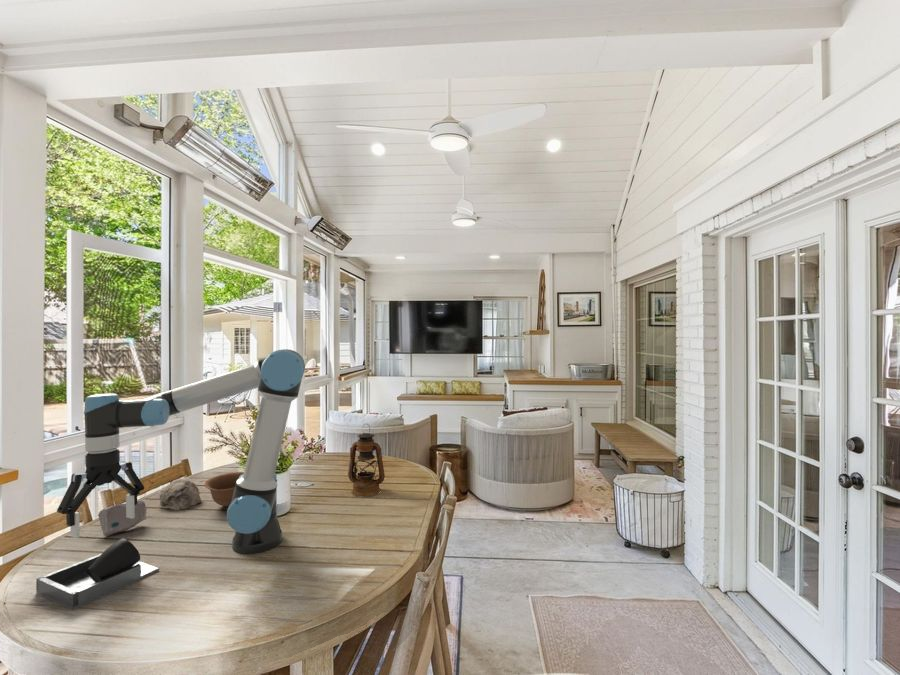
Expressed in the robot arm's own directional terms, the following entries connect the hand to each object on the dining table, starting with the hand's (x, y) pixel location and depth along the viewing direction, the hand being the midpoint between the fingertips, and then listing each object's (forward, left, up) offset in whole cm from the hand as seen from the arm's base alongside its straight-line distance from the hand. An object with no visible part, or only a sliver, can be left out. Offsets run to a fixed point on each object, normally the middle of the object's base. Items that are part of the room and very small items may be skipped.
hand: (104, 526), depth 124 cm
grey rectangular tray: (0, +1, -15) cm, 15 cm away
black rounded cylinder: (-2, +4, -12) cm, 13 cm away
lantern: (-23, -91, -15) cm, 95 cm away
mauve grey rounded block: (+30, -22, -15) cm, 40 cm away
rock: (+36, -46, -16) cm, 61 cm away
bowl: (+15, -55, -15) cm, 59 cm away
